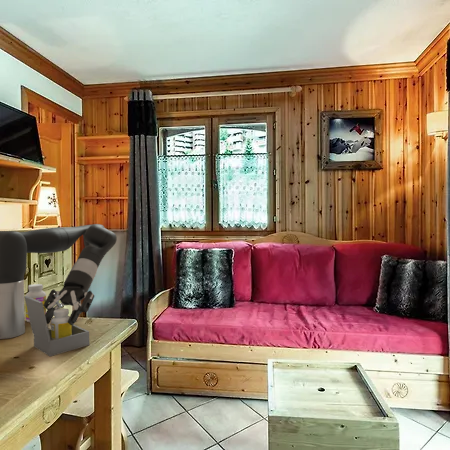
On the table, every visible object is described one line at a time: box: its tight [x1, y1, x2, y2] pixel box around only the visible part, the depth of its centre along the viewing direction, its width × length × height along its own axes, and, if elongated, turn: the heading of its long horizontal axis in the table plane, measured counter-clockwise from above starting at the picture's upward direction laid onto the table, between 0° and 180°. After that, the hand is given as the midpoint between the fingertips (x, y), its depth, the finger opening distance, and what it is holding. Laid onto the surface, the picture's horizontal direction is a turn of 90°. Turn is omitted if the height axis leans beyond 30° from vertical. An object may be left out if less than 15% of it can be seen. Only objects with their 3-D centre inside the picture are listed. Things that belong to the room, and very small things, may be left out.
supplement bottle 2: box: [50, 308, 72, 340], centre depth 103 cm, size 5×5×10 cm
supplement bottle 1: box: [25, 283, 47, 323], centre depth 128 cm, size 7×7×13 cm
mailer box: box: [24, 295, 90, 357], centre depth 101 cm, size 11×13×15 cm
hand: (57, 323), depth 101 cm, fingers open, 7 cm apart
